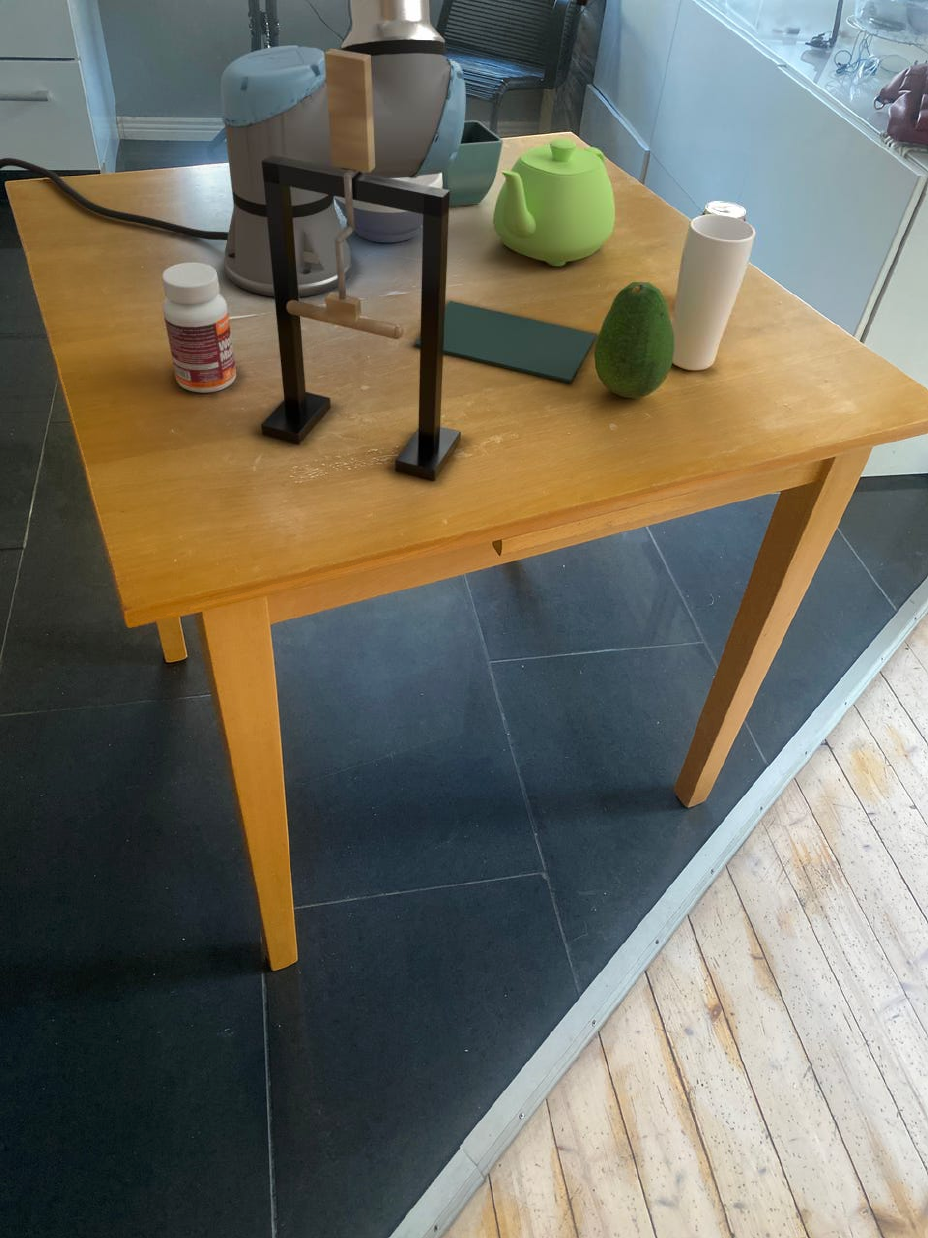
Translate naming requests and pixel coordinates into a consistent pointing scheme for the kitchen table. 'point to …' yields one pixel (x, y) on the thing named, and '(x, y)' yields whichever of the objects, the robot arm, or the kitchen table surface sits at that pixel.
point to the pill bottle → (198, 328)
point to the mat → (514, 342)
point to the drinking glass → (708, 286)
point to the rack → (299, 406)
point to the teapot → (556, 203)
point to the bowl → (388, 216)
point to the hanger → (348, 178)
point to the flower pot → (473, 165)
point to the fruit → (635, 342)
